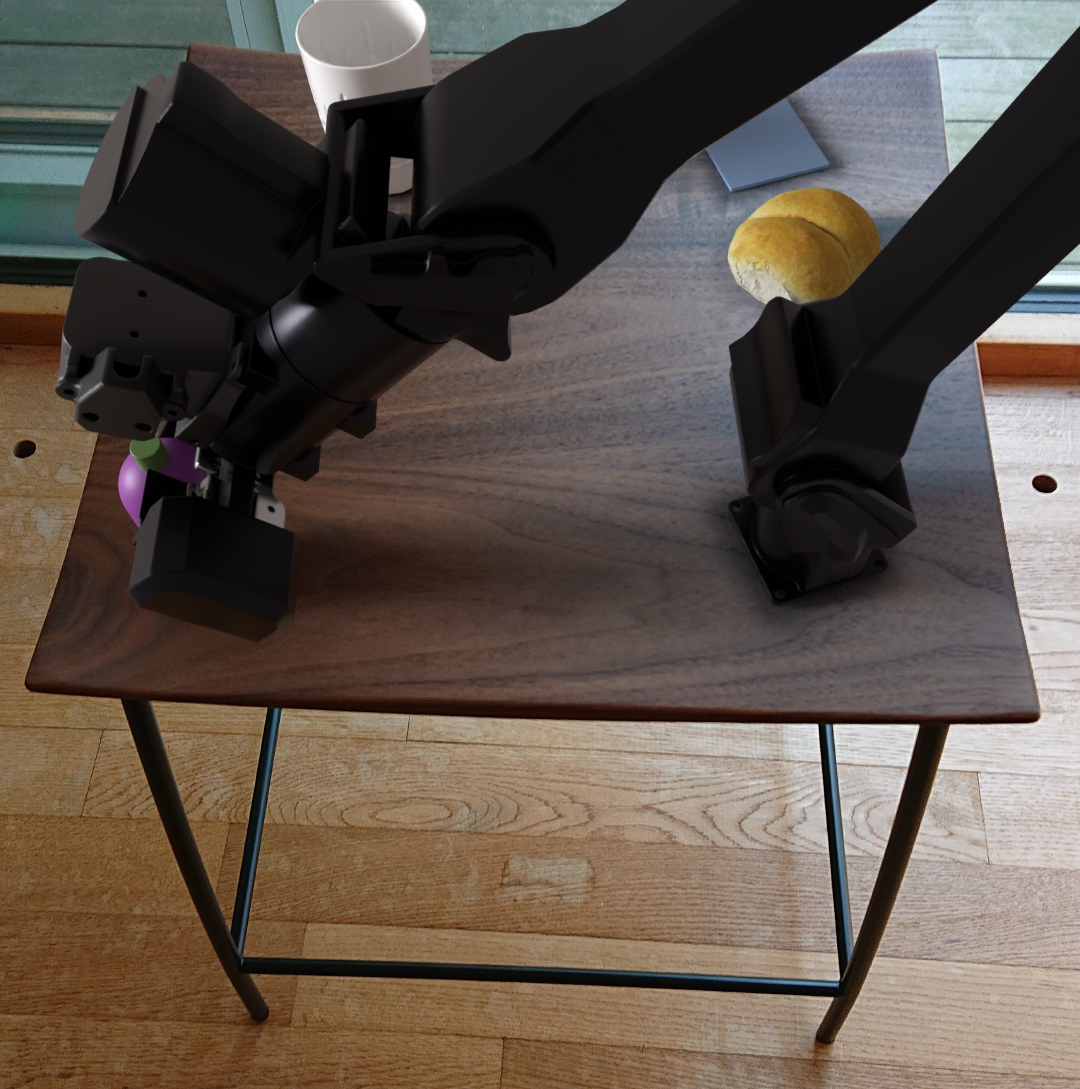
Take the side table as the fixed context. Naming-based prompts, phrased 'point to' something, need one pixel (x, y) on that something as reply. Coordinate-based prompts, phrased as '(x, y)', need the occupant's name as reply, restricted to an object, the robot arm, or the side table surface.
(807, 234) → the bread roll
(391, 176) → the white cup
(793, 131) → the blue-grey square tile
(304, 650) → the side table surface
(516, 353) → the side table surface
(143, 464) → the eggplant
